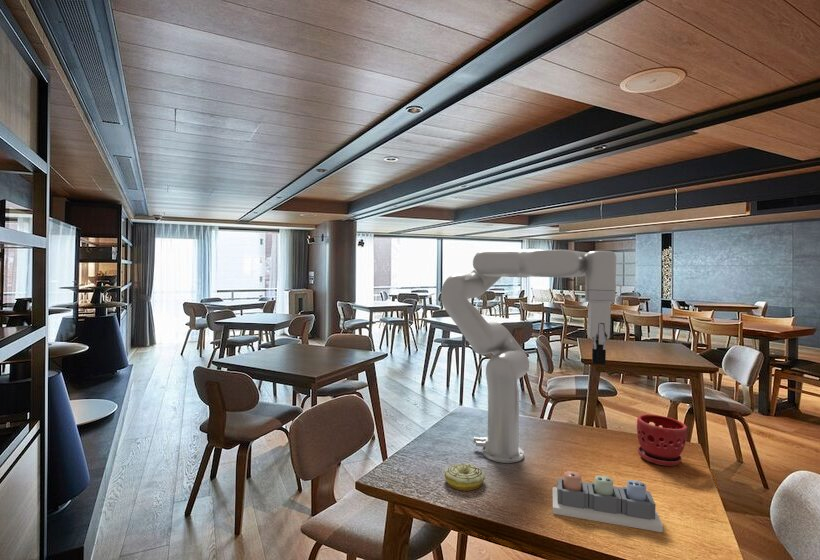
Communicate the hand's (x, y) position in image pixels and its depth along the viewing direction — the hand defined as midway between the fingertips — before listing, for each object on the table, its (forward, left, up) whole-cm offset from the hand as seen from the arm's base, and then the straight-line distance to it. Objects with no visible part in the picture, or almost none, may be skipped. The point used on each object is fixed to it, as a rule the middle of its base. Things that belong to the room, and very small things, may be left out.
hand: (598, 363), depth 117 cm
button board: (0, -16, -32) cm, 36 cm away
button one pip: (-7, -16, -30) cm, 34 cm away
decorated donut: (-34, -13, -32) cm, 49 cm away
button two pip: (0, -16, -29) cm, 34 cm away
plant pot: (+20, +20, -32) cm, 43 cm away
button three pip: (+7, -16, -30) cm, 34 cm away
